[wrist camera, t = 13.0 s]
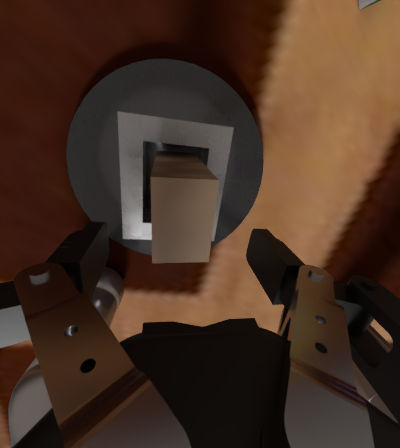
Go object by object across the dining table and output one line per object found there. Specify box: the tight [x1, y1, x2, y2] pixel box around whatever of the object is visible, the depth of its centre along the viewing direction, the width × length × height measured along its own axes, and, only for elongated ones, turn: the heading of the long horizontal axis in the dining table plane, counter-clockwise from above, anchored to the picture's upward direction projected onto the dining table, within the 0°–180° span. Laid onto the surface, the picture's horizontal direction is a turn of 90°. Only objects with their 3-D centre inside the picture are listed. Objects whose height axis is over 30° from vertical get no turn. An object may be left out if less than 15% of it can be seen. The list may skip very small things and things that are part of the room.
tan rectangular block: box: [151, 150, 219, 263], centre depth 19 cm, size 4×6×12 cm, turn 175°
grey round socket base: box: [66, 59, 263, 255], centre depth 23 cm, size 22×22×6 cm
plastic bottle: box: [9, 267, 124, 448], centre depth 21 cm, size 6×7×20 cm
